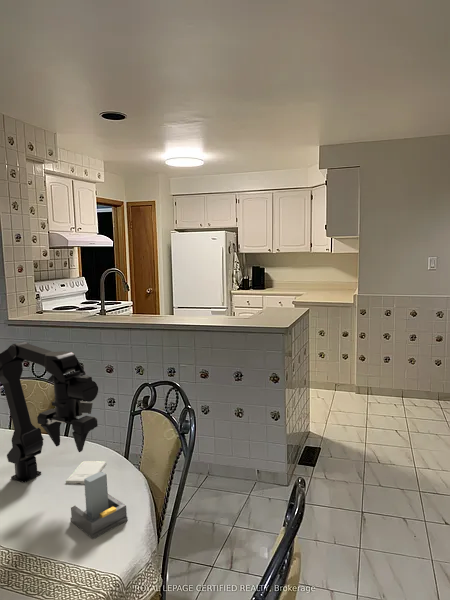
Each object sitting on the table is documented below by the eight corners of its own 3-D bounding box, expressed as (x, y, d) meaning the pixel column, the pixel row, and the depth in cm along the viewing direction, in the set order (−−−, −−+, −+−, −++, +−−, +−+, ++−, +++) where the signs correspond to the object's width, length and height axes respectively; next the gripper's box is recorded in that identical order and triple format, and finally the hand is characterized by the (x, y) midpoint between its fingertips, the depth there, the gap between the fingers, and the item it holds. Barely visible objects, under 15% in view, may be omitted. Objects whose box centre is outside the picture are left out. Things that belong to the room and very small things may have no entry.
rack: (70, 521, 116) (69, 504, 115) (104, 504, 123) (103, 488, 122) (93, 539, 108) (91, 521, 107) (127, 520, 115) (126, 503, 115)
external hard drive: (106, 466, 146) (91, 485, 134) (82, 465, 147) (65, 485, 135) (106, 461, 146) (91, 480, 134) (82, 460, 147) (65, 480, 135)
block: (86, 519, 114) (84, 479, 113) (103, 510, 118) (100, 471, 117) (92, 522, 113) (89, 482, 112) (108, 513, 117) (106, 473, 115)
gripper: (109, 392, 130) (112, 443, 132) (64, 385, 139) (67, 432, 140) (80, 404, 120) (84, 459, 122) (34, 395, 129) (38, 447, 131)
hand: (69, 448), depth 129 cm, fingers open, 9 cm apart
